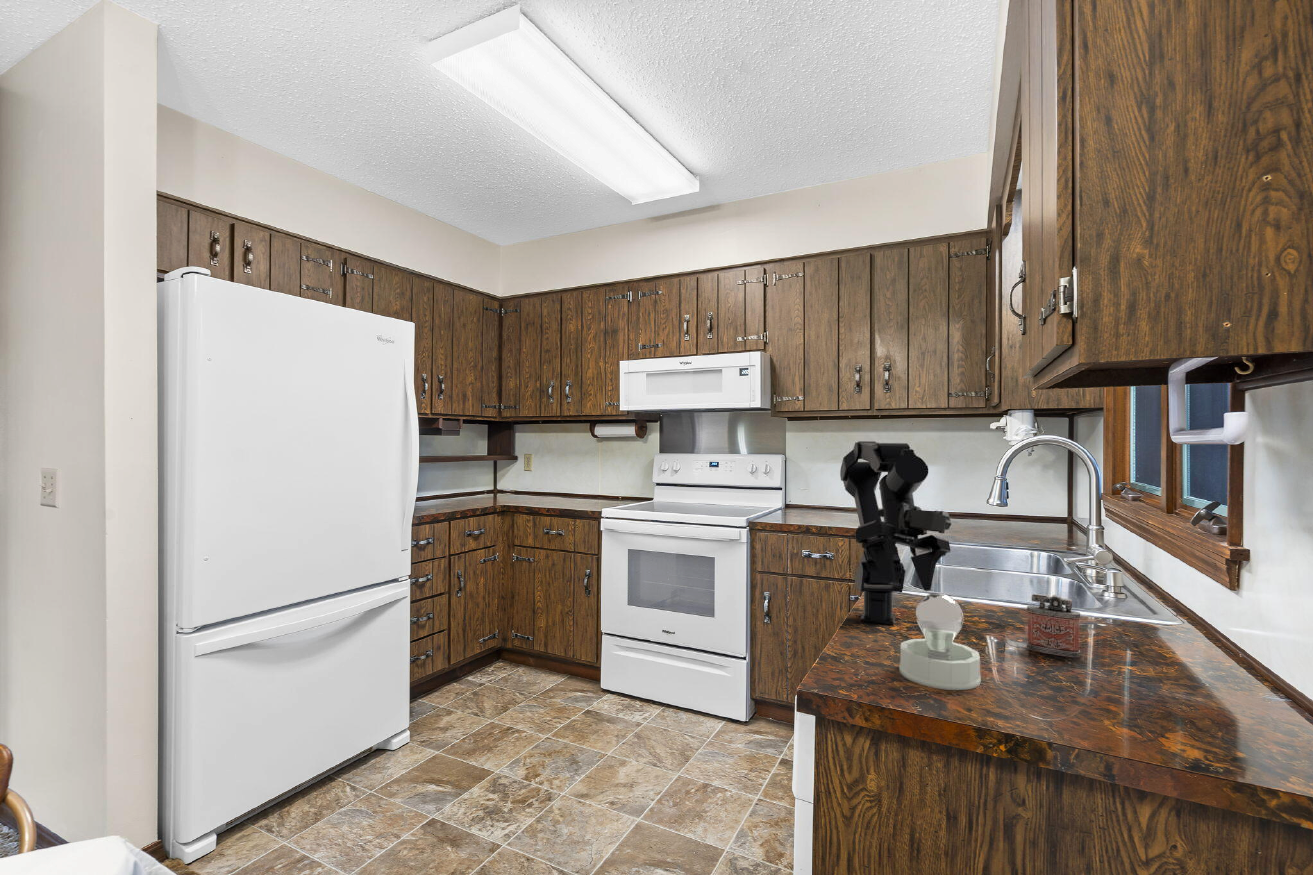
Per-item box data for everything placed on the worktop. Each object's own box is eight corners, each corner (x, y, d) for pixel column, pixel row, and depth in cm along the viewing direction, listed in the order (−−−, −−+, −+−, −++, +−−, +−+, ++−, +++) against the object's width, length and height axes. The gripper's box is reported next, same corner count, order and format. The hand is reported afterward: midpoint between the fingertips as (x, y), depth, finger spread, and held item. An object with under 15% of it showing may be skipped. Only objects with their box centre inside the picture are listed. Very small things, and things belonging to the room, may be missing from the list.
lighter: (1080, 653, 111) (1080, 596, 111) (1080, 658, 109) (1080, 600, 109) (1027, 644, 116) (1027, 590, 116) (1026, 649, 113) (1026, 594, 113)
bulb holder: (900, 658, 108) (900, 634, 108) (977, 668, 103) (977, 644, 103) (898, 682, 97) (898, 656, 97) (983, 695, 93) (984, 668, 93)
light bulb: (956, 680, 96) (957, 601, 96) (909, 669, 100) (910, 593, 100) (967, 667, 101) (968, 593, 101) (921, 657, 105) (922, 586, 105)
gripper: (896, 479, 108) (909, 569, 101) (968, 501, 116) (984, 586, 109) (849, 498, 117) (858, 582, 110) (918, 518, 125) (931, 597, 118)
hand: (909, 586), depth 112 cm, fingers open, 9 cm apart
